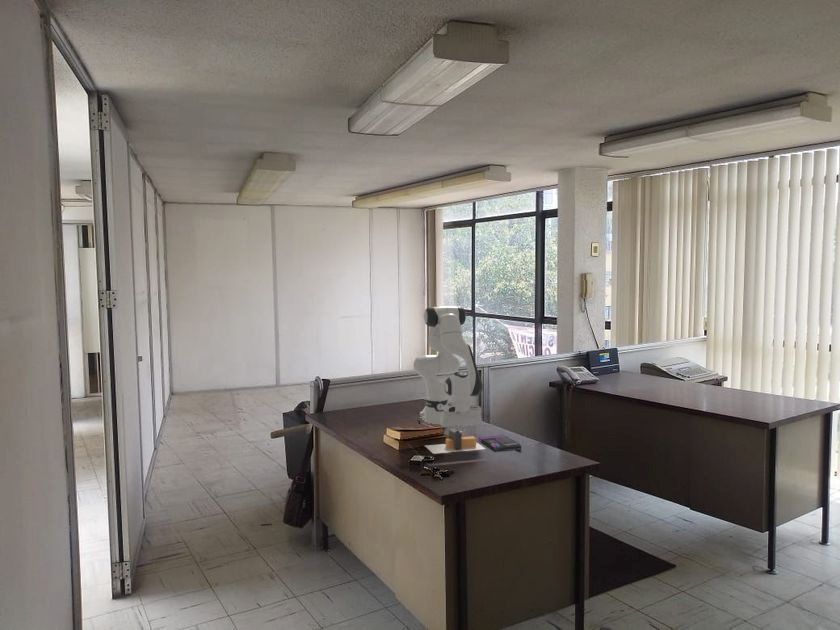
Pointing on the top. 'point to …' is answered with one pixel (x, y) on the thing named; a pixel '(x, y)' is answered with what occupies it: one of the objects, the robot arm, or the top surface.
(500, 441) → the box
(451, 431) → the dark grey block
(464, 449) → the base plate
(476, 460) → the top surface
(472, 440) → the orange foam brick
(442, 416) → the robot arm
